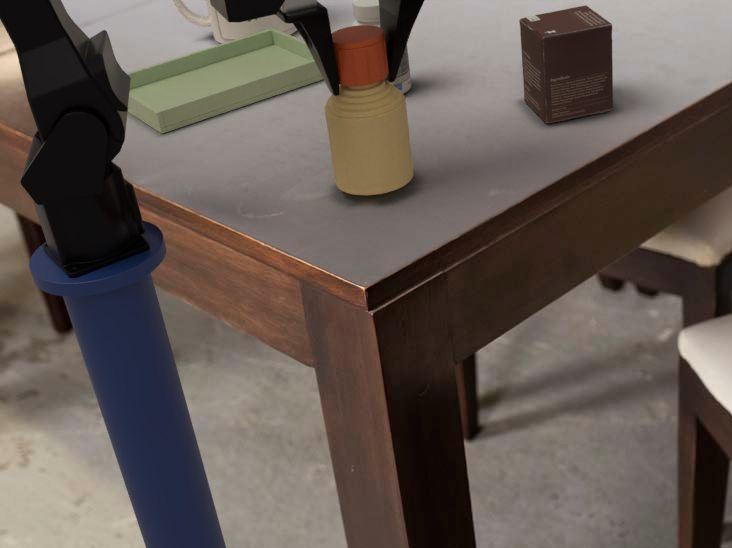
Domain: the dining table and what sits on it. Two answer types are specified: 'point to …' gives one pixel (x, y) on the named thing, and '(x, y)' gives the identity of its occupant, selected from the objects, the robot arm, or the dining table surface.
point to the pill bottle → (369, 15)
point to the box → (567, 63)
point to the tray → (220, 79)
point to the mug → (232, 23)
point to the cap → (360, 55)
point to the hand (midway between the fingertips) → (362, 87)
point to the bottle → (369, 138)
